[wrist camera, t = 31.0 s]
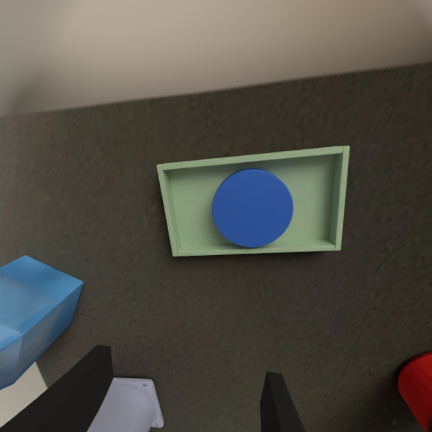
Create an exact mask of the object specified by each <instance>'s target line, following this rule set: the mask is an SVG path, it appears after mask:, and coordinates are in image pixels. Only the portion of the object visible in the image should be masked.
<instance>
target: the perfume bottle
mask: <svg viewBox="0 0 432 432" xmlns="http://www.w3.org/2000/svg"><path fill="white" fill-rule="evenodd" d="M83 283H84V282H83V281H80V280H78V279H76V278H74V277H72V276H70V275H68V274H65V273H63V272H61V271H59V270H57V269H55V268H52V267H50V266H48V265H46V264H44V263H42V262H40V261H37V260H35V259H33V258H31V257H29V256H27V255H25V256H23V257H21V258H19V259H17V260H15V261H13V262H11V263H9V264H7V265H5V266H3V267H1V268H0V390H1V389H3V388H6V387H8V386H10V385H12V384H14V383H15V382H16V380H18V379H19V378H20V377H21V376H22V374H23V373H24V372H25V371H26V370H27V369H28V368H29V367H30V366H31V365H32V364H33V363H34V362H35V361H36V360H37V359H38V358H39V357H40V356H41V355H42V354H43V352H44V351H45V350H46V349H47V348H48V347H49V346H50V345H51V344H52V343H53V342H54V341H55V340H56V339H57V338H58V337H59V336H60V335H61V334H62V333H63V332H64V331H65V329H66V328H67V327H68V326H69V325H70V324H71V322H72V319H73V316H74V312H75V309H76V306H77V302H78V299H79V296H80V293H81V289H82V286H83Z"/></svg>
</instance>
